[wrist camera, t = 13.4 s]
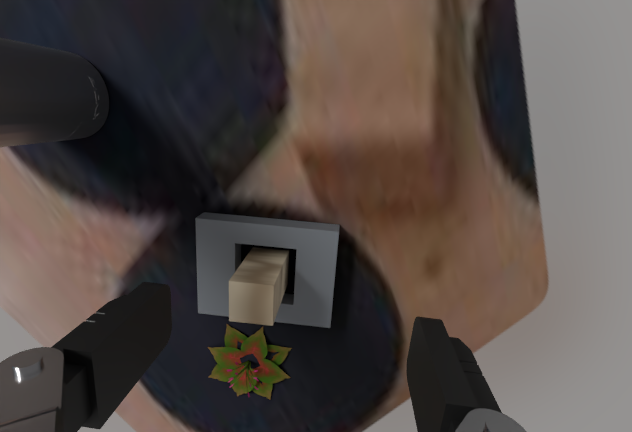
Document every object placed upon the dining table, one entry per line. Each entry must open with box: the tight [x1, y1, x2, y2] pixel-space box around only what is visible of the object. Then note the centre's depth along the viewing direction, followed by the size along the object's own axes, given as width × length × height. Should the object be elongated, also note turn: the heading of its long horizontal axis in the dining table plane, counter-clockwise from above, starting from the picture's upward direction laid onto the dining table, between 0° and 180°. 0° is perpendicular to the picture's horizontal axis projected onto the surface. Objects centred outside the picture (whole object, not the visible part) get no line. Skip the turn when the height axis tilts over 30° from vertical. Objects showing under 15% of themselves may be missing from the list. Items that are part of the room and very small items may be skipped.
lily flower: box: [208, 324, 292, 399], centre depth 47 cm, size 12×12×5 cm
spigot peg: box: [229, 247, 289, 326], centre depth 40 cm, size 4×4×9 cm
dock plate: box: [195, 212, 340, 328], centre depth 43 cm, size 16×12×2 cm
